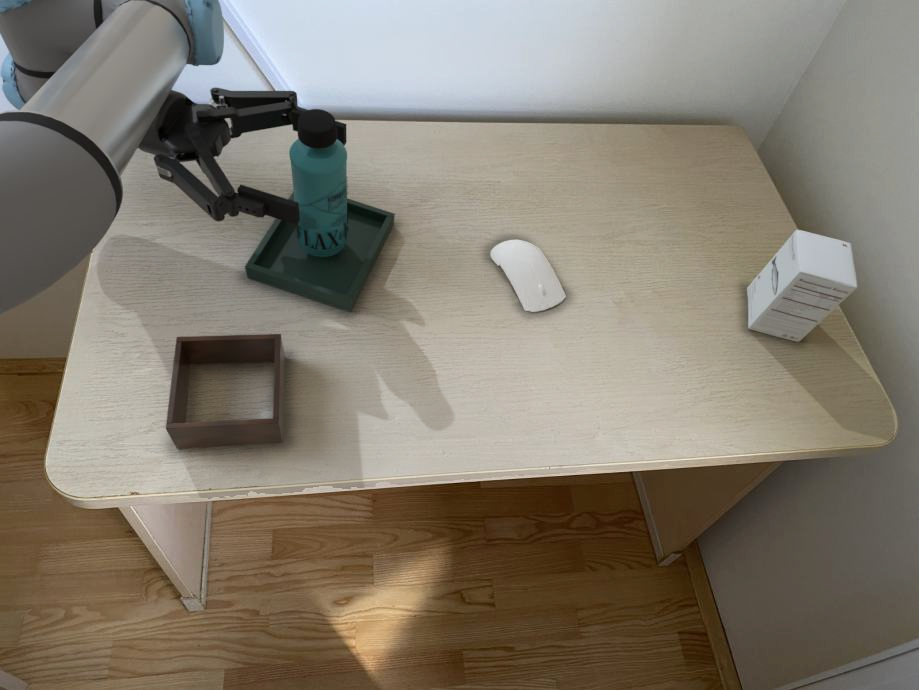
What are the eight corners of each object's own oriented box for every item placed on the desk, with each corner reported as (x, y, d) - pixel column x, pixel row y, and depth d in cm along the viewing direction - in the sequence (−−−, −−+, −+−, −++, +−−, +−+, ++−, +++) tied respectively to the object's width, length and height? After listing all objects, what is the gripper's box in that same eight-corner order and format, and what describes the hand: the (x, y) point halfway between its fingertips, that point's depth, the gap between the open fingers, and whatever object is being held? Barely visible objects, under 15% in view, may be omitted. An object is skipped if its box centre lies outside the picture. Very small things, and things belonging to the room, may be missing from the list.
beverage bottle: (288, 256, 83) (272, 128, 67) (311, 220, 87) (301, 91, 70) (336, 273, 83) (331, 149, 66) (357, 236, 87) (358, 110, 70)
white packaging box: (744, 287, 92) (795, 226, 82) (796, 301, 92) (854, 241, 82) (745, 330, 88) (799, 271, 78) (799, 344, 88) (860, 287, 78)
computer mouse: (527, 316, 84) (531, 306, 82) (482, 249, 89) (485, 238, 88) (570, 300, 87) (575, 289, 85) (524, 235, 92) (527, 224, 90)
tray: (350, 312, 81) (350, 301, 79) (247, 278, 82) (244, 266, 80) (393, 225, 90) (394, 213, 88) (300, 194, 90) (299, 182, 88)
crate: (176, 449, 69) (165, 428, 65) (186, 360, 75) (176, 336, 71) (283, 443, 71) (278, 423, 67) (284, 357, 77) (280, 333, 72)
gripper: (206, 82, 85) (362, 131, 84) (93, 215, 71) (278, 274, 71) (194, 28, 79) (362, 80, 78) (68, 162, 65) (271, 226, 64)
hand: (323, 172), depth 74 cm, fingers open, 13 cm apart
